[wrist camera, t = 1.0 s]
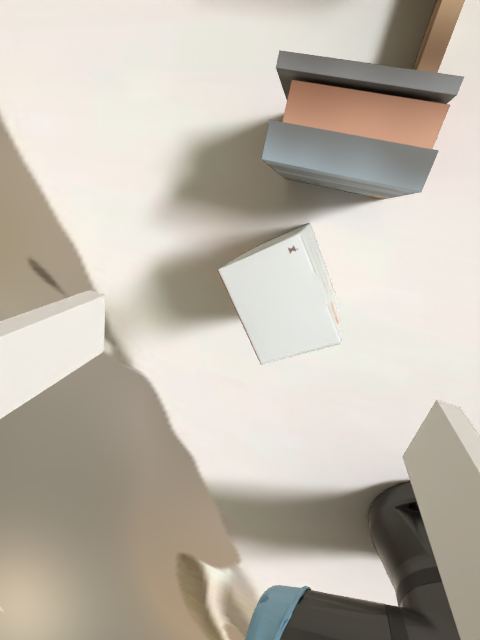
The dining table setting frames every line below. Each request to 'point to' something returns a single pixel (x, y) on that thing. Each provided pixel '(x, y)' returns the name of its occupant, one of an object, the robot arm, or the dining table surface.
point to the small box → (284, 296)
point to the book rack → (364, 117)
